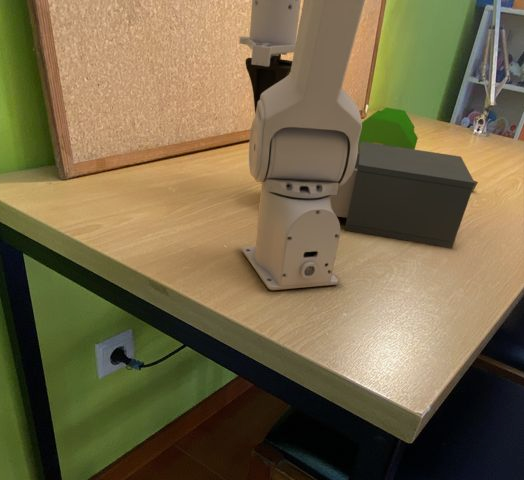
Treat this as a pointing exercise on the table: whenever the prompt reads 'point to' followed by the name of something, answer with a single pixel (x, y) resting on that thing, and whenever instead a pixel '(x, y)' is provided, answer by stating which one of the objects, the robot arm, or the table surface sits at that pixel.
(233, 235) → the table surface
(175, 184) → the table surface
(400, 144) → the decorative tree
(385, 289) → the table surface
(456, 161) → the cabinet
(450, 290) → the table surface
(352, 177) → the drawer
